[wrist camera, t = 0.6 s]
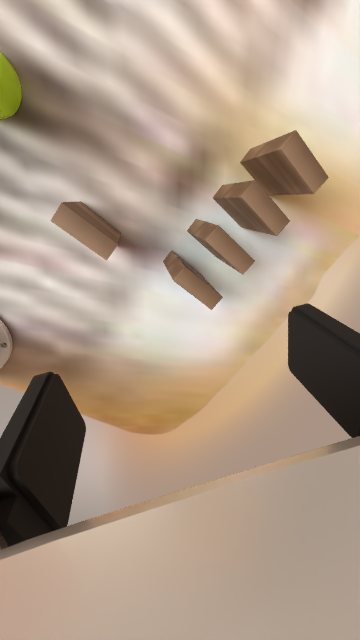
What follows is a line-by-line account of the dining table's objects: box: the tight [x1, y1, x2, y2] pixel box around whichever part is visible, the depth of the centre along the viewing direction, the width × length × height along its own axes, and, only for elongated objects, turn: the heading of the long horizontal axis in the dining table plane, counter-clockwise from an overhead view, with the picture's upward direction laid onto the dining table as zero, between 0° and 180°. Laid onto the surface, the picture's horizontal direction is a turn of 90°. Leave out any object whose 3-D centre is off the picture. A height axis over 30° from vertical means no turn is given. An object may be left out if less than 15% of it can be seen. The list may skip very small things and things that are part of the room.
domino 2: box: [240, 130, 329, 195], centre depth 30 cm, size 2×6×10 cm, turn 50°
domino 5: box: [163, 251, 223, 310], centre depth 33 cm, size 2×6×10 cm, turn 50°
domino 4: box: [187, 219, 255, 274], centre depth 32 cm, size 2×6×10 cm, turn 50°
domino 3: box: [213, 180, 290, 236], centre depth 31 cm, size 2×6×10 cm, turn 50°
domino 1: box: [51, 202, 121, 260], centre depth 29 cm, size 2×6×10 cm, turn 50°
